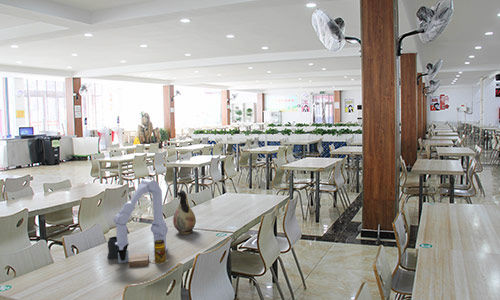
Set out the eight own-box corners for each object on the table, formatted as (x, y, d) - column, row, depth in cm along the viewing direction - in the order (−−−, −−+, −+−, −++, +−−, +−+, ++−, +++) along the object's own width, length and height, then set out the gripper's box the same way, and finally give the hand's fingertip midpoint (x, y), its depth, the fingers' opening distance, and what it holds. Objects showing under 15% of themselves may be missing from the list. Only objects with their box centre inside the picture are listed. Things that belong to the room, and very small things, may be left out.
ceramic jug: (171, 231, 287) (169, 189, 284) (192, 227, 293) (190, 186, 290) (177, 237, 271) (175, 193, 269) (199, 234, 278) (197, 190, 275)
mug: (118, 259, 234) (116, 240, 233) (103, 259, 236) (102, 239, 235) (129, 252, 245) (127, 234, 244) (115, 251, 247) (114, 233, 246)
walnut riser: (130, 260, 231) (130, 255, 231) (149, 258, 233) (148, 253, 233) (129, 267, 222) (128, 261, 221) (148, 265, 223) (147, 259, 223)
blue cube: (119, 259, 234) (119, 251, 233) (128, 258, 235) (128, 250, 234) (118, 262, 229) (117, 254, 228) (127, 261, 230) (127, 253, 229)
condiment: (160, 264, 224) (159, 243, 223) (149, 262, 228) (147, 241, 227) (169, 260, 230) (168, 239, 229) (158, 258, 234) (157, 237, 233)
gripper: (116, 231, 237) (117, 254, 238) (112, 239, 222) (114, 263, 224) (128, 230, 238) (130, 253, 239) (126, 238, 224) (127, 262, 225)
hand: (123, 258), depth 232 cm, fingers closed on blue cube, 5 cm apart
